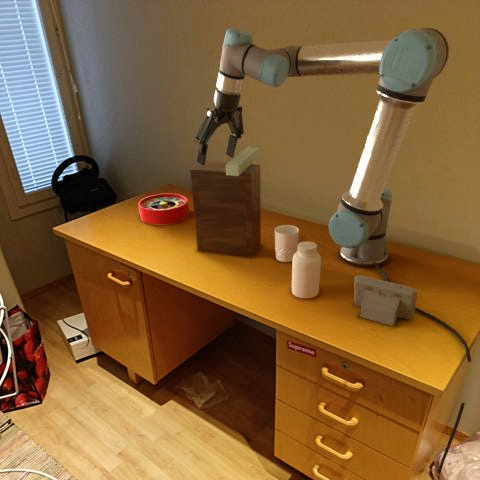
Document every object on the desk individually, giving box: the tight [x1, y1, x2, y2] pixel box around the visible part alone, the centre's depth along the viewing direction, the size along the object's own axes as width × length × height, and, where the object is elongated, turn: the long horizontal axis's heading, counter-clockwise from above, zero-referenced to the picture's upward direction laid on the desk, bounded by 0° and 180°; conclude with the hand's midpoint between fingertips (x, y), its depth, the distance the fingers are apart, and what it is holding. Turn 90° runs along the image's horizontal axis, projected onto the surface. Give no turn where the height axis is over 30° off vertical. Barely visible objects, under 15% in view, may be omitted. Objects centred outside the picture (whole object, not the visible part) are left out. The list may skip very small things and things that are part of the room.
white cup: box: [274, 224, 300, 263], centre depth 147 cm, size 8×8×10 cm
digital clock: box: [353, 275, 418, 327], centre depth 117 cm, size 16×9×11 cm, turn 47°
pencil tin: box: [226, 146, 260, 176], centre depth 141 cm, size 22×4×3 cm, turn 162°
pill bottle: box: [291, 240, 322, 299], centre depth 127 cm, size 8×8×15 cm
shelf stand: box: [189, 160, 262, 259], centre depth 149 cm, size 10×20×28 cm, turn 72°
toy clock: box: [137, 192, 190, 226], centre depth 183 cm, size 20×6×20 cm
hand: (215, 159), depth 145 cm, fingers open, 13 cm apart
